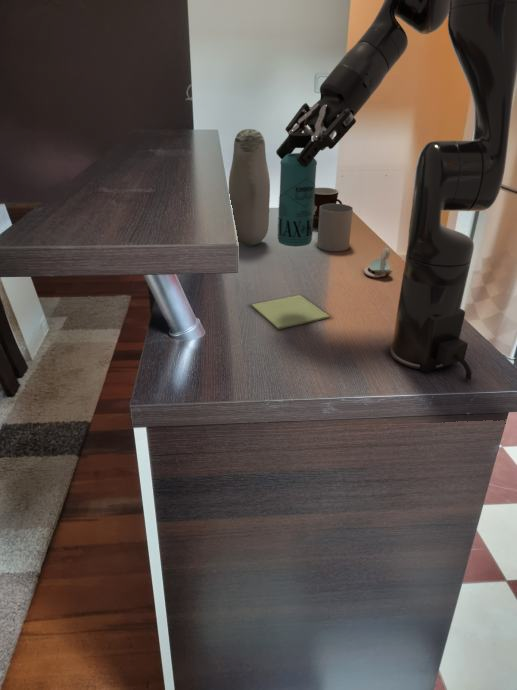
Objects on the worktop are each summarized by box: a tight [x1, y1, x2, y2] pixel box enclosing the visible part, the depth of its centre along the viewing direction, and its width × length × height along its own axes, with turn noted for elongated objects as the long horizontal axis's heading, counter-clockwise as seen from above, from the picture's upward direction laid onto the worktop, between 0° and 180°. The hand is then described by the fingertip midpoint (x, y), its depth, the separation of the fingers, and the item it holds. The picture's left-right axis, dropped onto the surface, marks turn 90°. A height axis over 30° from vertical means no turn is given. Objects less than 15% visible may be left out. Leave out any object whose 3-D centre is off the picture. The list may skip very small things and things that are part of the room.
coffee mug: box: [312, 187, 343, 229], centre depth 147 cm, size 12×9×10 cm
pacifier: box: [363, 246, 393, 278], centre depth 115 cm, size 7×6×6 cm
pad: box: [251, 294, 330, 330], centre depth 99 cm, size 11×11×1 cm
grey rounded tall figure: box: [228, 128, 271, 246], centre depth 128 cm, size 10×10×28 cm
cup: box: [316, 203, 354, 252], centre depth 132 cm, size 8×8×10 cm
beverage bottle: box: [276, 132, 318, 247], centre depth 90 cm, size 6×7×20 cm
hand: (290, 159), depth 87 cm, fingers closed on beverage bottle, 6 cm apart
